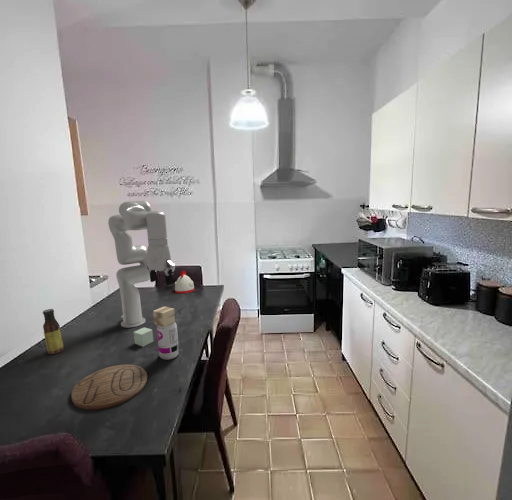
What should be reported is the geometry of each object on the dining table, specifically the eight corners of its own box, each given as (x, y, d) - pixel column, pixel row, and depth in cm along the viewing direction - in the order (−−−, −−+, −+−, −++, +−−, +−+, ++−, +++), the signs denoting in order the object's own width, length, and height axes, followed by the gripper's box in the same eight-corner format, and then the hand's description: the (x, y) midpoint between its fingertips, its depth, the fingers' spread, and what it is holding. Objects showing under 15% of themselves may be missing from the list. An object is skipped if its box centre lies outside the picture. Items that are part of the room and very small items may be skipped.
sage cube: (134, 343, 147) (133, 331, 146) (145, 338, 151) (144, 327, 150) (143, 346, 143) (141, 334, 142) (153, 341, 148) (152, 329, 147)
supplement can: (161, 362, 129) (158, 328, 126) (158, 353, 136) (154, 321, 133) (181, 357, 132) (178, 324, 130) (176, 349, 140) (173, 317, 137)
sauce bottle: (67, 349, 144) (60, 308, 140) (54, 355, 138) (47, 313, 134) (56, 347, 146) (50, 307, 142) (44, 353, 140) (36, 312, 136)
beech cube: (154, 324, 131) (153, 310, 130) (165, 319, 135) (164, 306, 134) (164, 327, 127) (162, 313, 126) (175, 321, 132) (174, 308, 131)
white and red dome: (171, 293, 222) (170, 273, 220) (179, 287, 236) (178, 268, 233) (190, 293, 220) (188, 273, 217) (197, 287, 233) (195, 268, 231)
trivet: (66, 420, 97) (65, 415, 97) (76, 378, 120) (76, 374, 120) (150, 397, 107) (149, 392, 106) (145, 363, 129) (144, 358, 129)
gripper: (136, 242, 129) (140, 282, 132) (164, 245, 119) (168, 288, 122) (151, 240, 135) (155, 278, 138) (179, 242, 125) (182, 283, 128)
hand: (161, 282), depth 130 cm, fingers open, 9 cm apart
